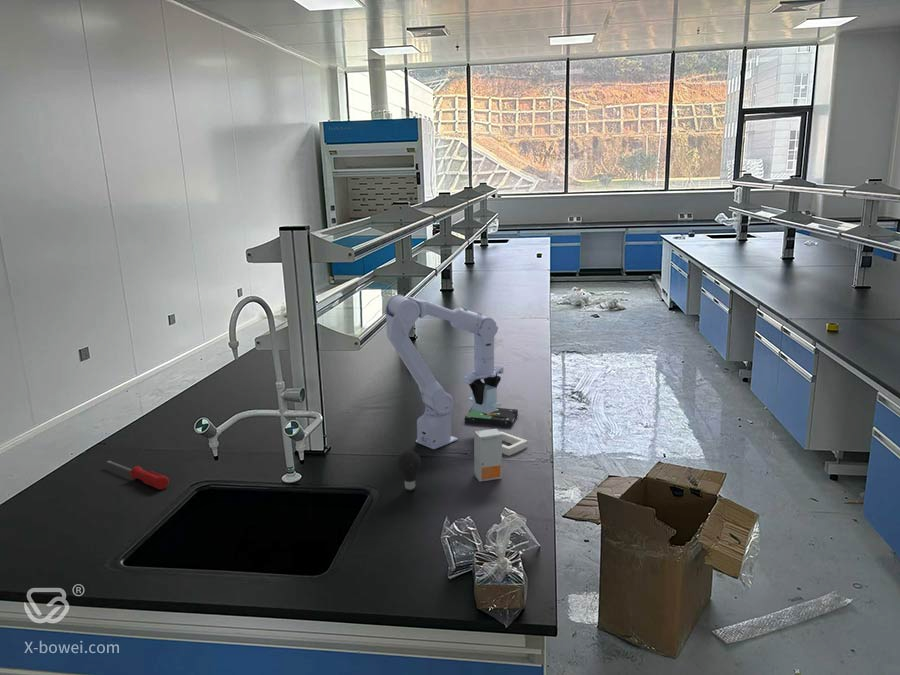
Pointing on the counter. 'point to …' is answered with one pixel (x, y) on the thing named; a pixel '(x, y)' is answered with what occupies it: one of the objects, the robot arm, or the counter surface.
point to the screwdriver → (147, 476)
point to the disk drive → (492, 417)
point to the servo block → (486, 400)
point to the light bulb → (409, 467)
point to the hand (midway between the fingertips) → (484, 401)
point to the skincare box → (488, 454)
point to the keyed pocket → (517, 444)
